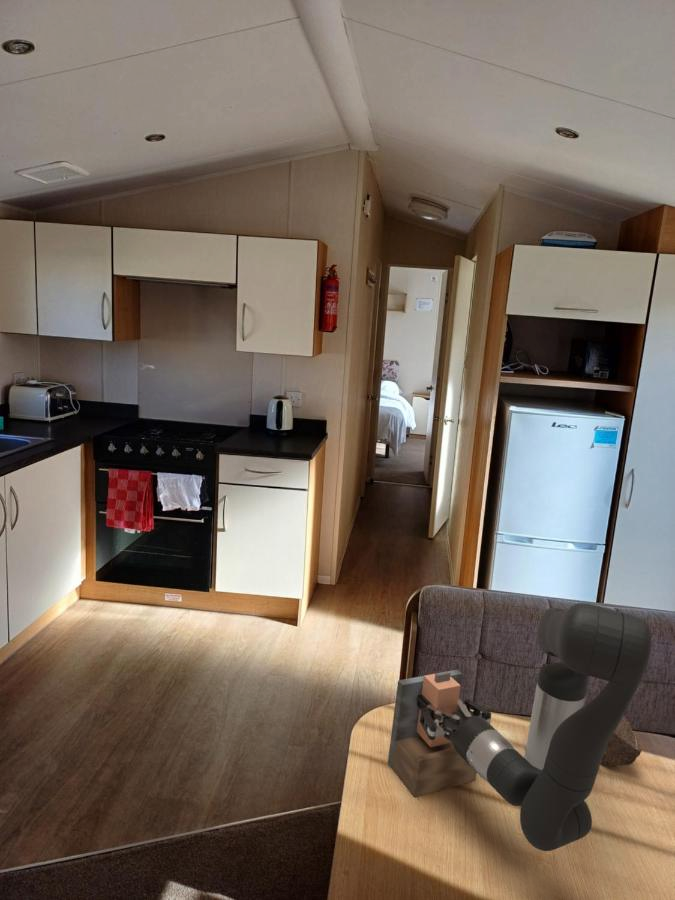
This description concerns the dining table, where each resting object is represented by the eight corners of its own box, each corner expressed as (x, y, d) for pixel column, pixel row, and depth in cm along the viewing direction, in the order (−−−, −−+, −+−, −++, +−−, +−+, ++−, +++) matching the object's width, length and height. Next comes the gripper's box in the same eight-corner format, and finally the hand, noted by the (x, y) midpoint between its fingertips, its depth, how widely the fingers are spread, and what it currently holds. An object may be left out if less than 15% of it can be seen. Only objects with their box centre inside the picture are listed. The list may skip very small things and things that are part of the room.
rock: (654, 759, 130) (624, 738, 127) (614, 787, 133) (584, 767, 129) (623, 709, 141) (596, 689, 138) (587, 737, 144) (559, 717, 140)
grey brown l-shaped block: (446, 748, 135) (457, 669, 131) (475, 780, 126) (488, 696, 122) (387, 763, 128) (398, 680, 125) (414, 797, 120) (426, 709, 116)
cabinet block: (437, 726, 129) (446, 664, 127) (452, 742, 125) (461, 678, 122) (416, 731, 127) (424, 668, 125) (430, 747, 123) (439, 682, 120)
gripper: (521, 723, 115) (463, 673, 130) (455, 739, 108) (401, 684, 123) (515, 760, 116) (458, 707, 131) (449, 779, 110) (397, 720, 125)
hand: (431, 696), depth 127 cm, fingers closed on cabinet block, 5 cm apart
